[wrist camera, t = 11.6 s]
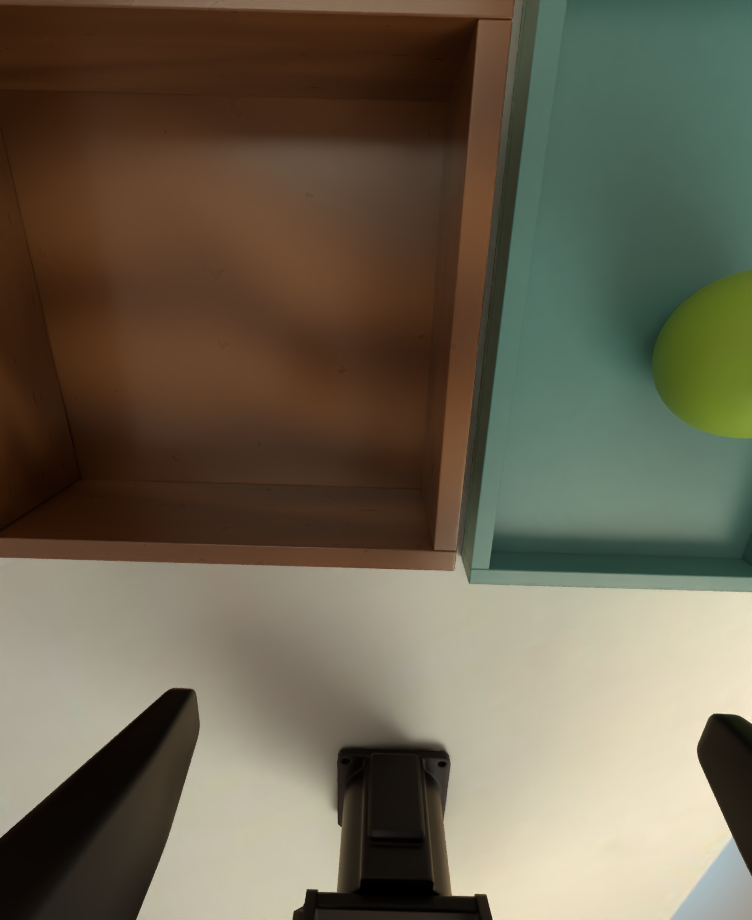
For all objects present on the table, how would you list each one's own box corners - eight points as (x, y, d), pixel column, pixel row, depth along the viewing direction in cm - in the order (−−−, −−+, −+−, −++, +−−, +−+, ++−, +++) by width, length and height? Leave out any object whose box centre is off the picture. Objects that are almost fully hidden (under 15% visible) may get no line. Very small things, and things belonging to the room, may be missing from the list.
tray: (744, 566, 22) (779, 593, 20) (461, 558, 22) (468, 584, 20) (970, -30, 14) (1062, -79, 12) (527, -42, 14) (550, -93, 12)
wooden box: (436, 501, 21) (454, 571, 15) (73, 491, 21) (-27, 557, 16) (472, 78, 15) (518, -28, 10) (-29, 64, 15) (-237, -49, 10)
